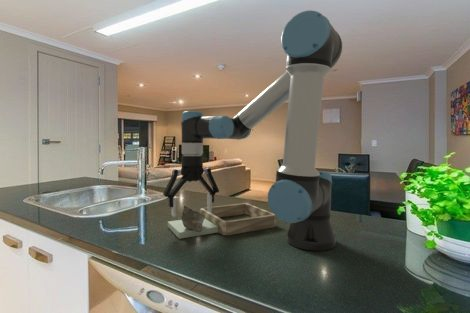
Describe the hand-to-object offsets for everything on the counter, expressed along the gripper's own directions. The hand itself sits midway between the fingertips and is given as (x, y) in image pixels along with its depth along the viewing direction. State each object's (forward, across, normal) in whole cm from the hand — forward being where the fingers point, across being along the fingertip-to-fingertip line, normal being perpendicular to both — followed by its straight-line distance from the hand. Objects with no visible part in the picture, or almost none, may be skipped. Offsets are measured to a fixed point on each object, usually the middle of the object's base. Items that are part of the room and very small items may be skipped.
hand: (192, 214), depth 99 cm
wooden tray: (+6, -18, 0) cm, 19 cm away
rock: (+4, 0, +4) cm, 6 cm away
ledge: (+6, 0, 0) cm, 6 cm away
